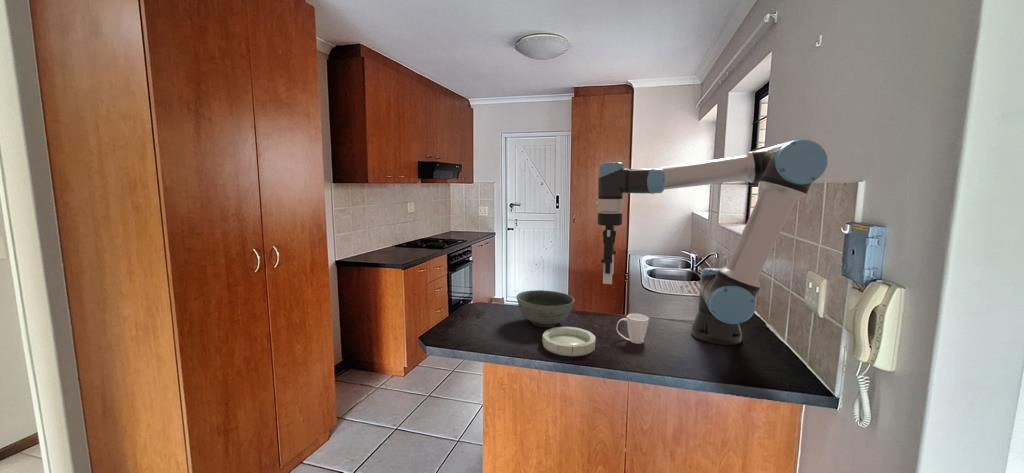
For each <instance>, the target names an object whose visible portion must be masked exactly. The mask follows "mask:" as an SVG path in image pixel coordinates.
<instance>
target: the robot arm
mask: <svg viewBox="0 0 1024 473" xmlns="http://www.w3.org/2000/svg"><path fill="white" fill-rule="evenodd" d="M828 161H829V160H828V154H827V153H826V150H825V149H824V147H823V146H822V145H820V143H817V142H816V141H814V140H811V139H801V138H797V139H792V140H789V141H785V142H782V143H779V144H775V145H773V146H769V147H766V148H763V149H759V150H758V149H757V150H754V151H748V152H746V154H744V155H741V156H740V155H739V156H732V157H726V158H718V159H717V158H716V159H711V160H704V161H695V162H690V163H681V164H675V165H668V166H660V167H649V168H648V167H647V168H625V165H624V163H623V162H618V161H617V162H612V161H611V162H602V163H600V165H599V166H598V177H597V178H598V182H597V184H598V186H597V189H598V190H597V200H598V201H596V202H595V205H597V211H598V213H597V225H598V226H604V227H605V229H604V230H603V231H602V237H603V239H602V242H603V259H600V262H601V264H602V265H603V266H602V268H603V270H602V284H603V285H605V284H606V285H613V275H614V270H615V268H614V267H615V266H614V264H615V255H617V251H615V247H614V246H615V242H616V237H617V236H616V234H617V230H615V227H616V226H617V227H618V226H621V225H623V214H622V213H621V212H623V209H624V208H623V204H624V203H623V202H624V198H623V196H624V194H651V195H654V194H662V193H663V192H664V190H673V189H675V190H676V189H682V188H691V187H699V186H708V185H717V184H725V183H734V182H741V181H742V182H743V181H746V182H749V183H750V184H752V183H759V185H760V187H761V189H762V190H761V192H760V194H759V196H758V199H757V200H756V202H755V205H754V207H753V209H752V211H751V213H750V216H749V217H748V219H747V221H746V224H745V226H744V228H743V230H742V233H741V235H740V237H739V239H738V241H737V244H736V245H735V246H734V247H735V248H734V250H733V252H732V254H731V256H730V258H729V260H728V262H727V264H726V266H723V267H721V268H718V267H706V268H703V269H702V270H701V274H700V276H699V277H700V286H699V297H698V298H699V299H698V312H697V313H696V316H695V317H694V320H693V322H692V324H691V327H690V334H691V335H692V337H694V338H696V339H697V340H699V341H703V342H705V343H709V344H714V345H720V346H721V345H722V346H735V345H739V344H740V343H741V342H742V338H743V333H742V329H741V325H740V324H742V323H744V322H747V321H748V320H750V319H751V318H752V317H753V315H754V314H755V311H756V307H757V306H756V297H757V295H758V293H759V291H760V289H761V286H762V285H761V282H760V281H759V278H760V275H761V273H762V270H763V269H764V266H765V265H766V263H767V260H768V258H769V257H770V255H771V253H772V250H773V249H774V248H775V244H776V242H777V240H778V238H779V236H780V233H781V232H782V230H783V228H784V226H785V224H786V222H787V220H788V218H789V215H790V214H791V212H792V210H793V208H794V205H795V204H796V201H797V200H799V199H801V198H803V197H806V195H807V194H808V192H809V190H810V188H811V186H812V183H813V182H815V181H817V180H819V179H820V178H821V177H822V175H823V174H824V173H825V171H826V170H827V166H828V163H829V162H828Z"/></svg>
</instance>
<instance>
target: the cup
mask: <svg viewBox="0 0 1024 473" xmlns="http://www.w3.org/2000/svg"><path fill="white" fill-rule="evenodd" d="M622 321H624V322H626V323H627V326H626V327H627V333H628V338H627V337H625V336H624V335H623V334H621V332H619V330H618V328H619V327H618V326H619V323H620V322H622ZM649 322H650V317H648V316H647V315H645V314H641V313H628V315H626V318H620V319H619V320H618V321H617V323H616V327H615V328H616V332H617V334H618V335H619V336H620V337H621V338H623V339H624V340H626V341H629V342H631V343H633V344H643V343H644V339H645V337H646V335H647V334H646V333H647V330H648V326H649Z"/></svg>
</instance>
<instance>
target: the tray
mask: <svg viewBox="0 0 1024 473" xmlns="http://www.w3.org/2000/svg"><path fill="white" fill-rule="evenodd" d="M596 337H597V336H595V334H593V333H592V332H591V331H589V330H587V329H583V328H580V327H576V326H575V327H573V326H553V327H550V328H549V329H547V330H545V331H544V332H543V334H542V345H543V348H544V349H545V350H547V351H548V352H550V353H551V354H552V353H553V354H555V355H559V356H562V357H563V356H564V357H581V356H587V355H589V354H591V353H593V352H594V351H595V349H596Z"/></svg>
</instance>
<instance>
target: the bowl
mask: <svg viewBox="0 0 1024 473" xmlns="http://www.w3.org/2000/svg"><path fill="white" fill-rule="evenodd" d="M515 297H516V301H517V303H518V308H519V310H520V312H521V314H522V315H523V317H524V318H525V319H527V320H528V321H530V323H531V324H532V325H533V326H537V327H540V328H554V327H556V326H557V325H558V323H560V322H563V321H564V320H566V319H567V317H569V315H570V313H571V311H572V308H573V306H574V303H575V301H576V300H575V298H574V297H573V296H571V295H570V294H567V293H564V292H559V291H553V290H544V289H543V290H541V289H539V290H526V291H522V292H521V291H520V292H519V293H517V294H516V296H515Z"/></svg>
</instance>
